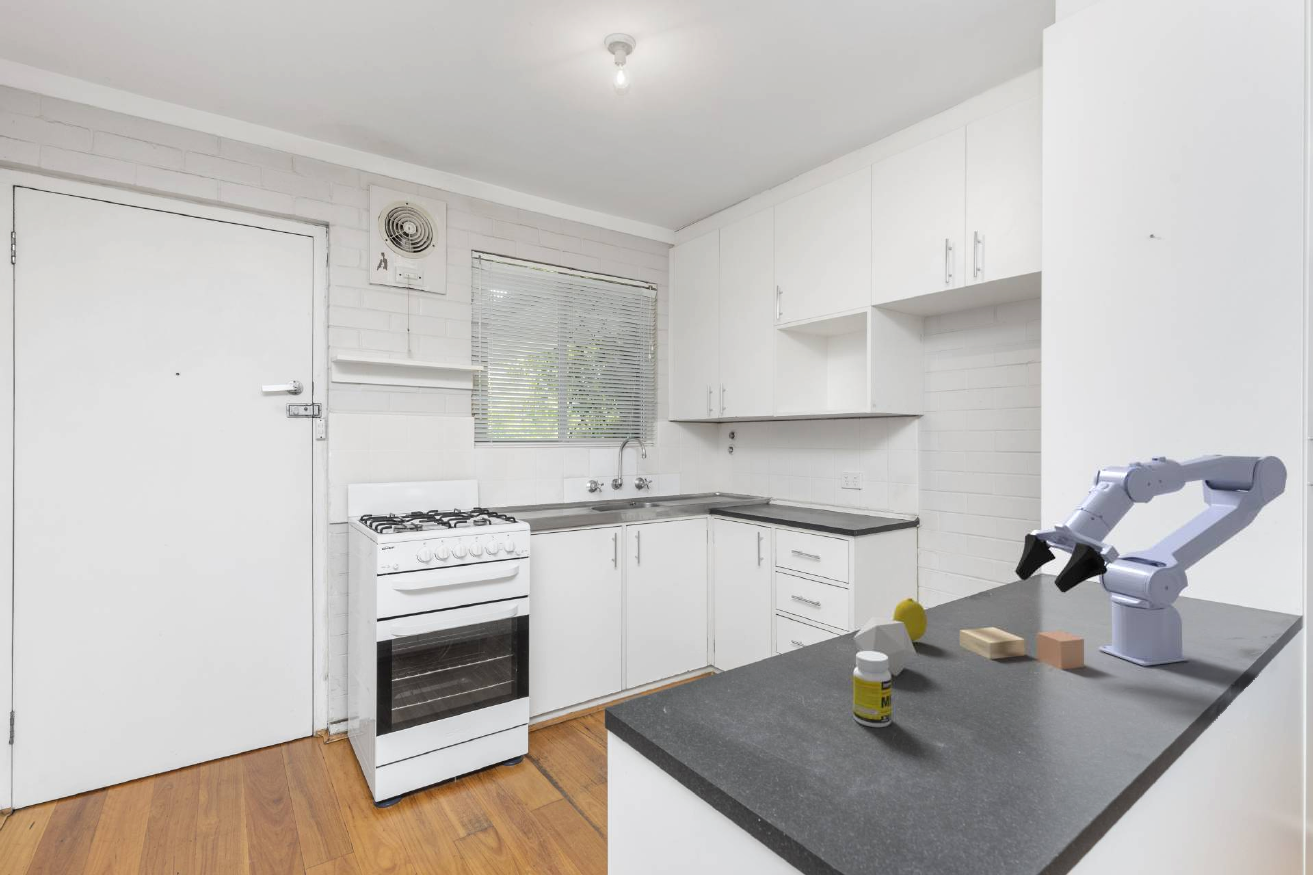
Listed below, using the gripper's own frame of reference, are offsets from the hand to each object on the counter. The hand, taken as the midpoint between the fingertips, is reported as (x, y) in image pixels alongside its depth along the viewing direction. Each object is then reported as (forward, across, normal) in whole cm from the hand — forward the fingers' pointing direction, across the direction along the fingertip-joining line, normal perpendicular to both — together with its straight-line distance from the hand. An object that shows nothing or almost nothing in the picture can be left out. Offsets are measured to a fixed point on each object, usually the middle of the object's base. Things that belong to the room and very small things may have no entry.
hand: (1038, 581), depth 100 cm
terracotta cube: (+6, 0, +13) cm, 14 cm away
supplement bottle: (+36, +10, -14) cm, 40 cm away
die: (+28, -5, -6) cm, 29 cm away
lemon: (+19, -15, +2) cm, 24 cm away
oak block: (+11, -8, +10) cm, 16 cm away
